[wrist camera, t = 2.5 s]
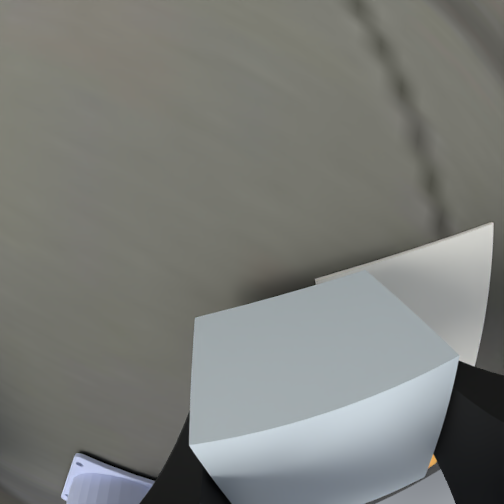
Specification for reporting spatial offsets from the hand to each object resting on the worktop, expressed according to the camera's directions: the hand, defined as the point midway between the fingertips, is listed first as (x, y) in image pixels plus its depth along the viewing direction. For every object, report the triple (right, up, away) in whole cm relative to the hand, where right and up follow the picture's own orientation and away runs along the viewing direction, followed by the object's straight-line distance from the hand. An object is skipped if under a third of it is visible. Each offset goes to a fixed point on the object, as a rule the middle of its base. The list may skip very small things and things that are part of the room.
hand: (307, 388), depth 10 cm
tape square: (+7, 0, +4) cm, 8 cm away
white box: (0, 0, +1) cm, 2 cm away
